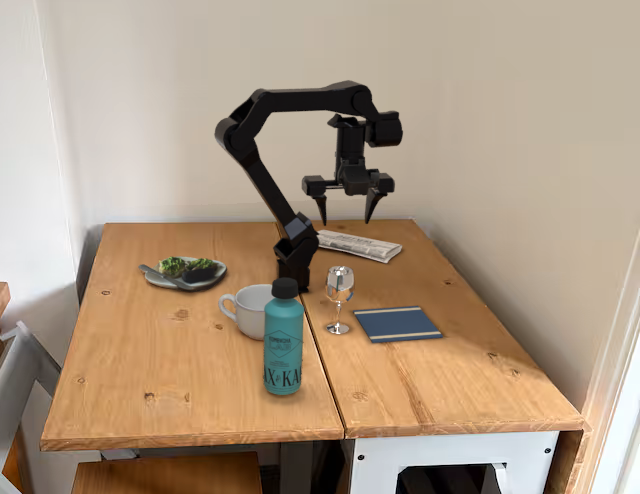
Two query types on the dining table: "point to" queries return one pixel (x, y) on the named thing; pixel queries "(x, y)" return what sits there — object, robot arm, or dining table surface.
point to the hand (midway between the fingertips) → (345, 224)
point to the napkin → (396, 324)
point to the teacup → (249, 308)
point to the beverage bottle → (283, 338)
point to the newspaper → (359, 245)
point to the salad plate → (185, 273)
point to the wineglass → (339, 292)
